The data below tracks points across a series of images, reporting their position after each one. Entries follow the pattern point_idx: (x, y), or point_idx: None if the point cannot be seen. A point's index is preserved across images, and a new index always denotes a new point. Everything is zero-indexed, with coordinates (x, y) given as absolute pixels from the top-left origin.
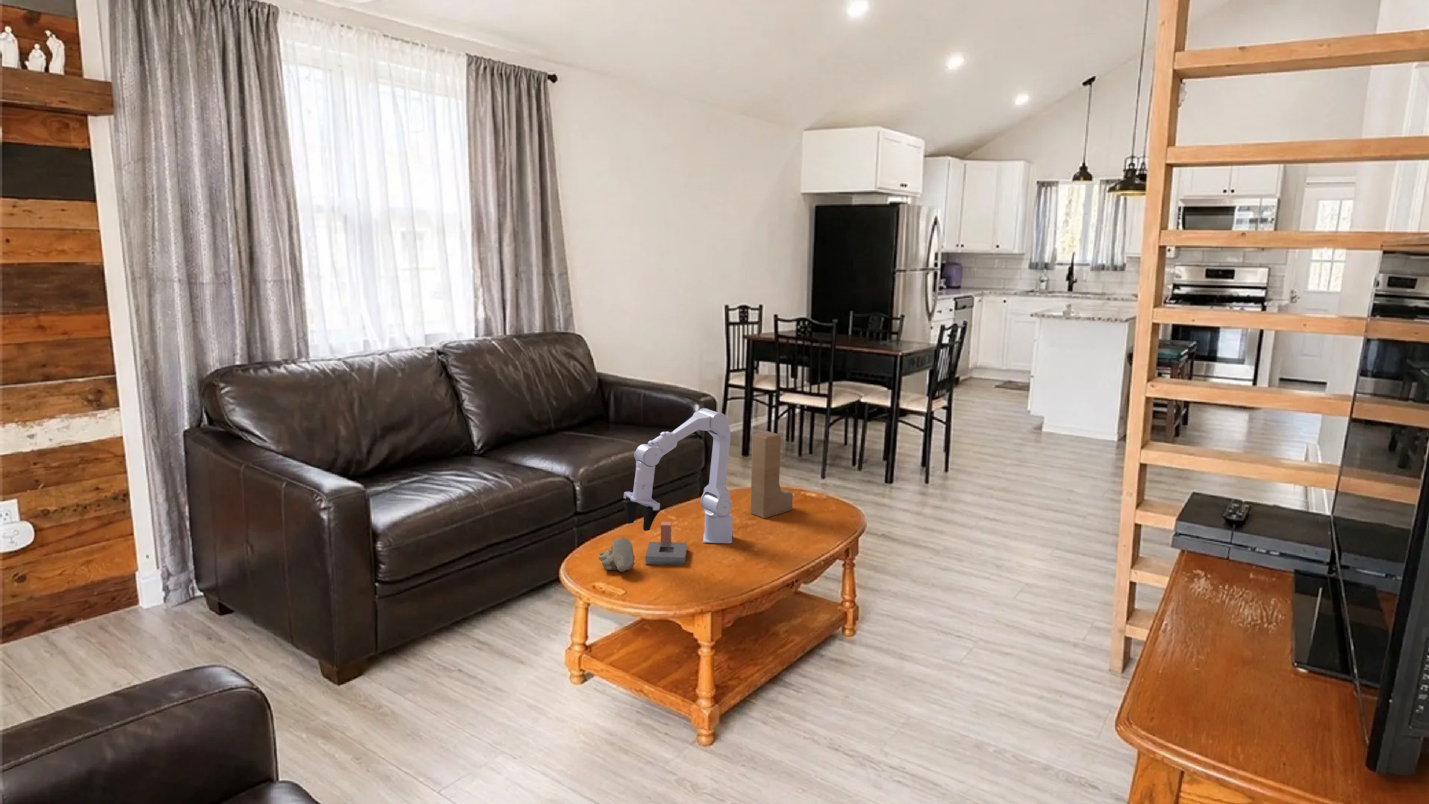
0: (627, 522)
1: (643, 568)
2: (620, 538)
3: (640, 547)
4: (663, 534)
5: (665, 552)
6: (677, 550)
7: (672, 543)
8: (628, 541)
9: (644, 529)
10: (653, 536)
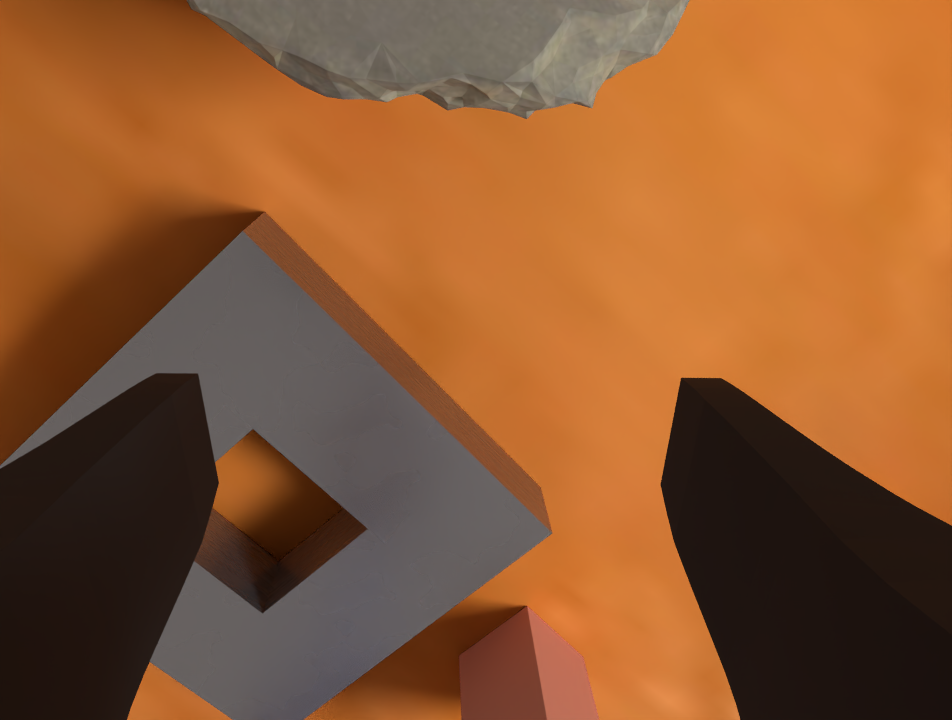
0: (717, 383)
1: (182, 115)
2: (581, 64)
3: (638, 460)
4: (520, 708)
5: None
6: None
7: (347, 654)
8: (330, 38)
9: (152, 380)
10: (723, 681)
